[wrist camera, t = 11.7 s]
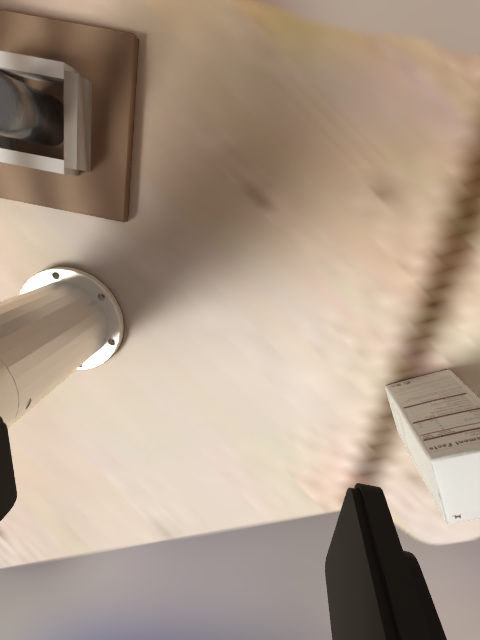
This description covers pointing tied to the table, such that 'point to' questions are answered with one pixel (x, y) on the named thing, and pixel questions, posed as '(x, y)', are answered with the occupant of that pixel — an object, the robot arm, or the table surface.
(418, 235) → the table surface
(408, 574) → the robot arm
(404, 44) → the table surface
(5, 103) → the gold topped cylinder
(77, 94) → the docking plate
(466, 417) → the supplement box
